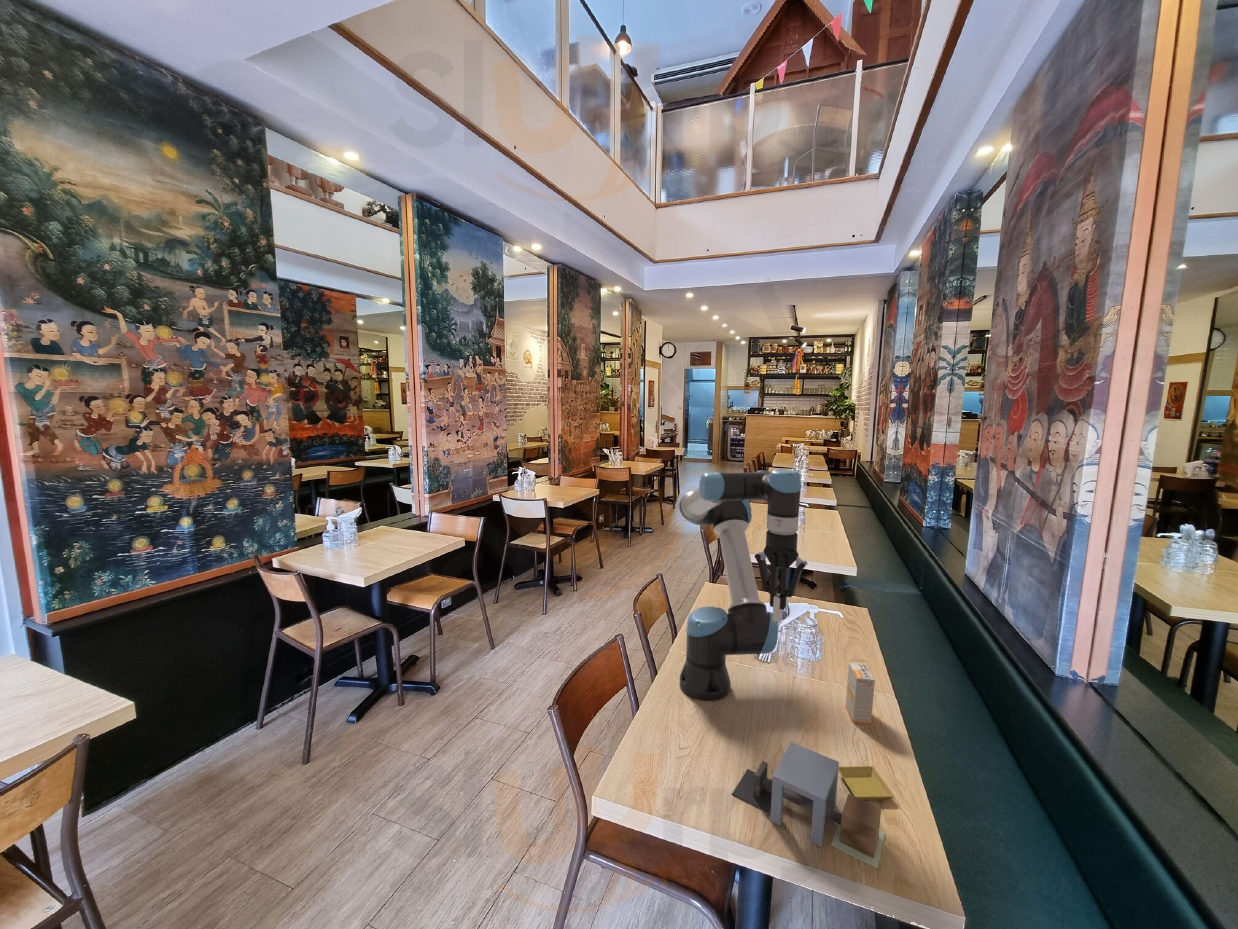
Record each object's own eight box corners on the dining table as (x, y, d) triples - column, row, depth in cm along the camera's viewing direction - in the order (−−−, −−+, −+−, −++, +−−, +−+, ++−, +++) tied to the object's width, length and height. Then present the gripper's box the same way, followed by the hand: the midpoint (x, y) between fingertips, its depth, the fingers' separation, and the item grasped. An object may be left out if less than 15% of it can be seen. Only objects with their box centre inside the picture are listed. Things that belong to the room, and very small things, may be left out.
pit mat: (732, 794, 106) (732, 793, 106) (747, 769, 114) (747, 768, 114) (768, 813, 102) (768, 812, 102) (781, 785, 109) (781, 784, 109)
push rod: (752, 797, 105) (753, 772, 104) (762, 780, 110) (763, 756, 109) (873, 858, 91) (876, 830, 91) (878, 835, 96) (881, 808, 95)
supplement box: (872, 726, 129) (876, 680, 128) (852, 723, 130) (856, 678, 129) (863, 707, 137) (866, 663, 136) (844, 704, 138) (848, 661, 137)
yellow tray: (894, 804, 105) (895, 796, 104) (854, 805, 104) (855, 796, 104) (872, 774, 113) (873, 765, 113) (835, 774, 113) (836, 766, 113)
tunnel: (770, 820, 100) (772, 775, 99) (788, 783, 110) (791, 742, 108) (821, 847, 94) (824, 800, 93) (835, 805, 104) (839, 762, 102)
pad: (831, 845, 94) (831, 844, 94) (841, 814, 102) (841, 813, 102) (877, 869, 90) (877, 867, 90) (884, 834, 97) (884, 833, 97)
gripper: (751, 529, 124) (747, 617, 127) (804, 538, 116) (798, 632, 119) (762, 524, 130) (757, 608, 133) (812, 532, 122) (807, 621, 125)
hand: (777, 619), depth 126 cm, fingers closed
